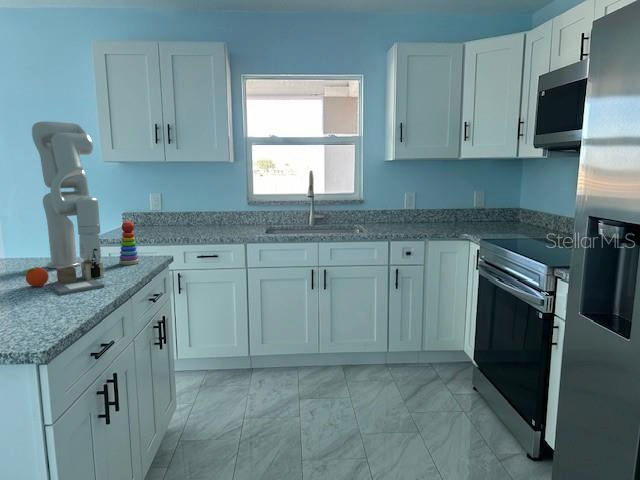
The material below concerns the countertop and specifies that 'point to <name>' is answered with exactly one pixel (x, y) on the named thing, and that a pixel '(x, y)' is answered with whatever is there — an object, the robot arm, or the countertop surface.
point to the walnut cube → (66, 275)
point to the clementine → (36, 276)
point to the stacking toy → (128, 245)
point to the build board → (77, 287)
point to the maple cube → (87, 271)
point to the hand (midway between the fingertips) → (92, 275)
